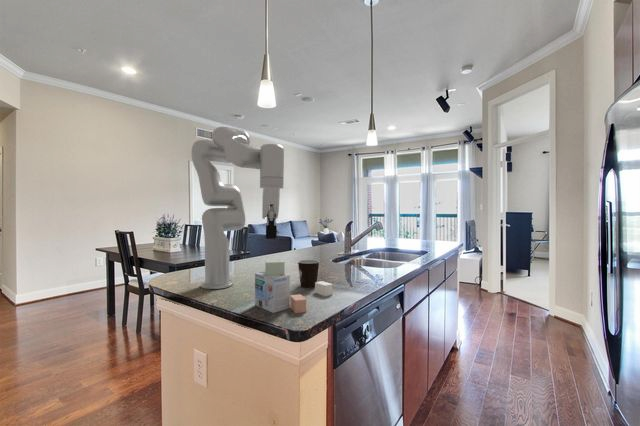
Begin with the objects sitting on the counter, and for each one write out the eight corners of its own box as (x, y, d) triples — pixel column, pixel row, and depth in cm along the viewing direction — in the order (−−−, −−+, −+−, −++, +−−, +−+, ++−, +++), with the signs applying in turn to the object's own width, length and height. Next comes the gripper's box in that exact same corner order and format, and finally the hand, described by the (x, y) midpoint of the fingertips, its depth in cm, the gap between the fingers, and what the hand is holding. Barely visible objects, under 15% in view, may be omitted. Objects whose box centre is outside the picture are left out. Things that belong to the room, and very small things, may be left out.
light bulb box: (254, 305, 101) (254, 272, 101) (271, 300, 106) (270, 269, 106) (273, 313, 94) (273, 278, 93) (290, 308, 98) (290, 274, 98)
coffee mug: (318, 288, 121) (318, 263, 121) (297, 288, 121) (297, 263, 121) (319, 281, 132) (319, 258, 132) (299, 281, 133) (299, 258, 132)
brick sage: (265, 275, 97) (265, 262, 97) (265, 272, 101) (265, 260, 101) (284, 274, 98) (284, 262, 98) (283, 272, 102) (283, 260, 102)
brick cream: (315, 293, 116) (315, 282, 116) (322, 291, 118) (322, 281, 118) (325, 296, 111) (325, 285, 111) (332, 294, 113) (332, 284, 113)
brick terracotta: (290, 307, 99) (290, 295, 99) (300, 306, 100) (300, 294, 100) (295, 313, 94) (295, 300, 94) (306, 312, 95) (306, 299, 95)
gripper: (260, 184, 107) (260, 233, 107) (258, 181, 90) (258, 240, 90) (282, 185, 108) (281, 233, 109) (284, 182, 91) (283, 240, 92)
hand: (271, 236), depth 100 cm, fingers open, 9 cm apart
